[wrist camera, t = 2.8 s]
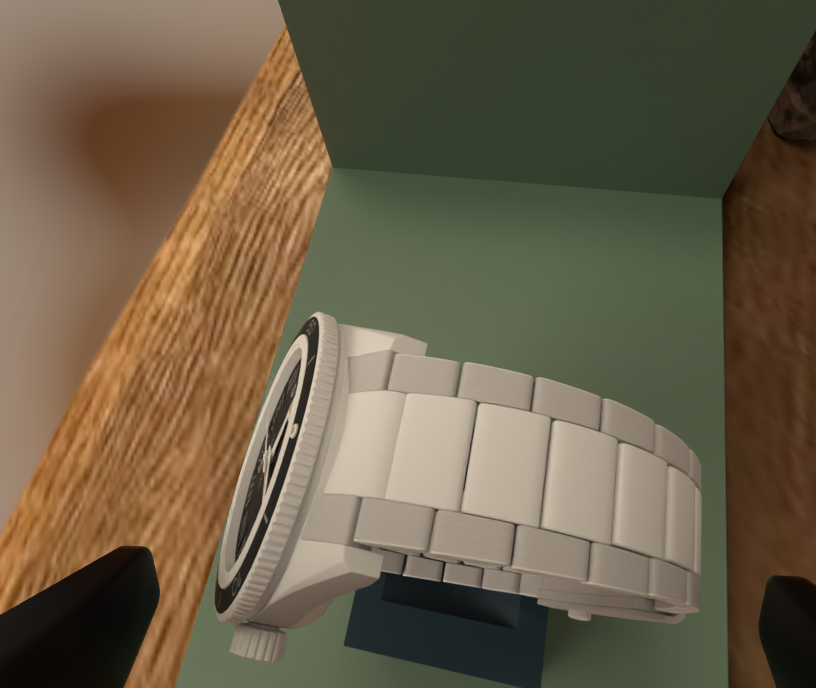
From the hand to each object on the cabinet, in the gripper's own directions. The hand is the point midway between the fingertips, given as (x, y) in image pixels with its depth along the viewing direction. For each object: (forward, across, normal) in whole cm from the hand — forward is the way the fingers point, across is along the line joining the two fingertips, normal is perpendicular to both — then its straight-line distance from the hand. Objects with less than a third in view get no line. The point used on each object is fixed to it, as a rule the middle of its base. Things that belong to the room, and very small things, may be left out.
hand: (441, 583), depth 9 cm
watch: (+7, 0, +5) cm, 9 cm away
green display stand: (+11, -1, +2) cm, 11 cm away
